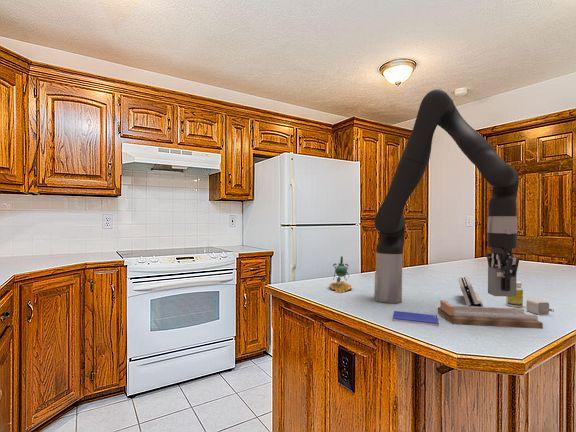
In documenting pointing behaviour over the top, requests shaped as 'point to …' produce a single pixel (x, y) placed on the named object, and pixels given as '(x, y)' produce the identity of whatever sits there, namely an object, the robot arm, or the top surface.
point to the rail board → (488, 316)
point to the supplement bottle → (518, 299)
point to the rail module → (499, 283)
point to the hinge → (469, 292)
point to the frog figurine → (341, 272)
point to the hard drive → (416, 318)
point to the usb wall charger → (538, 307)
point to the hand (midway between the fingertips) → (501, 288)
